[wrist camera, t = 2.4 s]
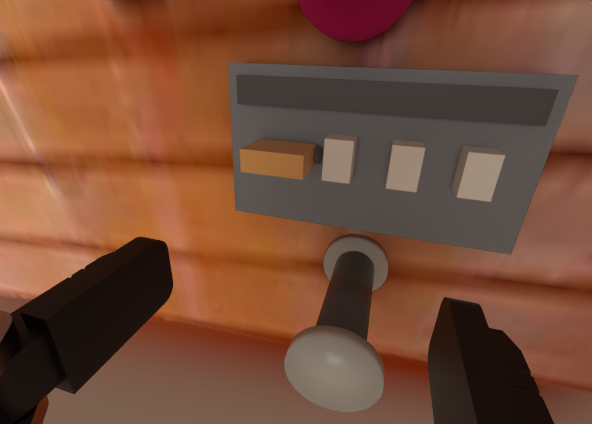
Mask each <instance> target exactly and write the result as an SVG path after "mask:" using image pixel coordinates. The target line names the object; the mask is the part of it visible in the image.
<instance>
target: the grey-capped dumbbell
mask: <svg viewBox="0 0 592 424" xmlns="http://www.w3.org/2000/svg"><path fill="white" fill-rule="evenodd" d="M323 266H324V271H325V273H326V276H327V277H328V279H329V280H330V283H329V286H328V289H327V293H326V296H325V299H324V302H323V305H322V308H321V311H320V315H319V318H318V321H317V324H316V326H313V327H309V328H307V329H304V330H302V331H301V332H299V333H298V334H297V335H296V336H295V337H294V338H293V340H292V342H291V344H290V346H289V349H288V352H287V354H286V357H285V362H284V367H285V372H286V375H287V377H288V379H289V381H290V383H291V384H292V386H293V387H294V388H295V389H296V390H297V391H298V392H299V393H300V394H301V395H302V396H304V397H305V398H306V399H308V400H309V401H311V402H313V403H315V404H317V405H319V406H321V407H324V408H327V409H331V410H334V411H340V412H355V411H361V410H364V409H366V408H369V407H371V406H372V405H374V404H375V403H376V402H377V401H378V400H379V398H380V397H381V395H382V391H383V382H384V366H383V362H382V360H381V358H380V356H379V354H378V352H377V351H376V350H375V348H374V347H373V346H372V345H371V344H370V343H369V342H368V341H367V334H368V325H369V315H370V306H371V297H372V292H373V291H375V290H376V289H378V288H379V287H381V286H382V284H383V283H384V282H385V280H386V278H387V275H388V258H387V255H386V253H385V251H384V249H383V248H382V247H381V246H380V245H379V244H378V243H377V242H376V241H374V240H373V239H371V238H369V237H366V236H363V235H358V234H350V235H344V236H341V237H339V238H337V239H336V240H334V241H333V242H332V243H331V244H330V246H329V247H328V249H327V251H326V254H325V257H324V261H323Z"/></svg>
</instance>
